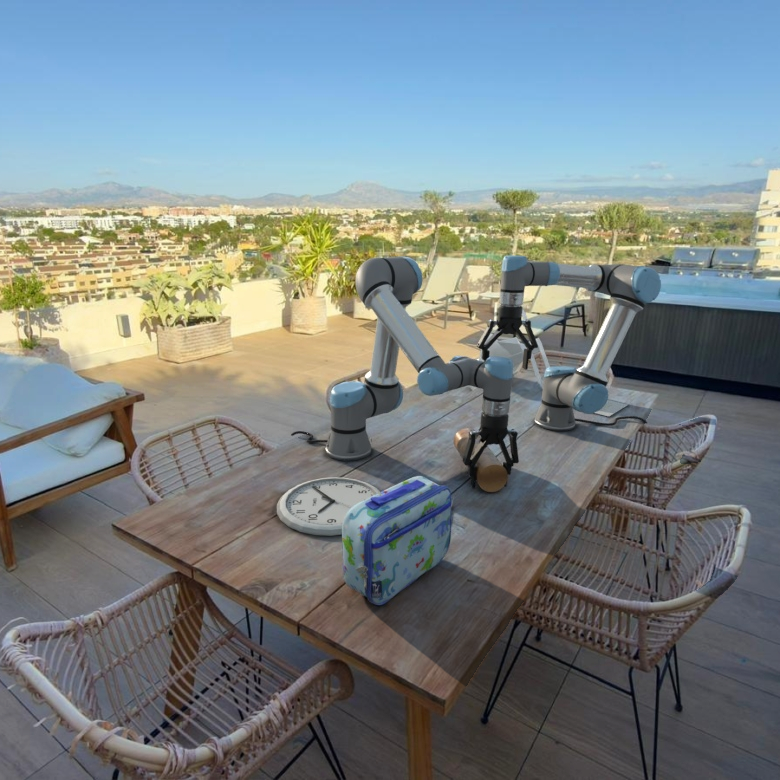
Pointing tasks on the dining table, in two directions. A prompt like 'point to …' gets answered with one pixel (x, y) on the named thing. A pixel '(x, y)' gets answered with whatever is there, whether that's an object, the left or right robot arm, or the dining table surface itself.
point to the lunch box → (395, 537)
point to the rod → (483, 463)
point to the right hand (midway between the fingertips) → (505, 369)
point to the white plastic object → (517, 352)
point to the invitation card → (611, 408)
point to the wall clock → (322, 504)
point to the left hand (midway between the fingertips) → (488, 485)
